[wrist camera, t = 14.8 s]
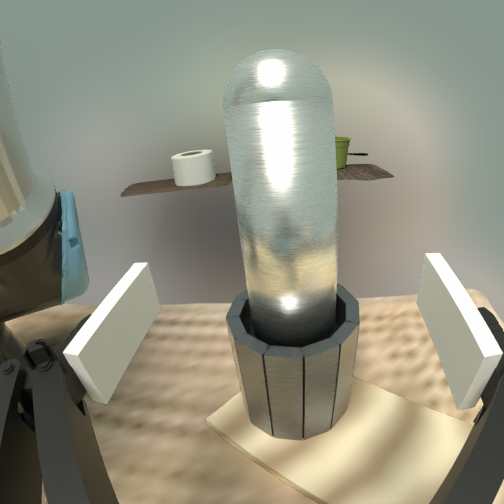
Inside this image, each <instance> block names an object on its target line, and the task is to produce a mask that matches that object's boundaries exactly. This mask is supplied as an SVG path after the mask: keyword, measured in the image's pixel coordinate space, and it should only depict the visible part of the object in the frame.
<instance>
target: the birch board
mask: <svg viewBox="0 0 504 504" xmlns="http://www.w3.org/2000/svg"><path fill="white" fill-rule="evenodd" d="M206 421H207V423H208V426H209V427H210V428H211V429H212V430H213V431H215V432H216V433H217V434H218V435H220V436H221V437H222V438H223V439H225V440H226V441H227V442H229V443H230V444H231V445H232V446H234V447H235V448H236V449H238V450H239V451H240V452H242V453H243V454H244V455H246V456H247V457H249V458H250V459H251V460H253V461H254V462H255V463H257V464H258V465H260V466H261V467H263V468H264V469H265V470H267V471H268V472H270V473H271V474H273V475H274V476H276V477H277V478H279V479H280V480H282V481H283V482H285V483H286V484H288V485H289V486H291V487H293V488H294V489H296V490H297V491H299V492H301V493H302V494H304V495H305V496H307V497H309V498H310V499H312V500H314V501H315V502H317V503H319V504H429V503H430V501H431V500H432V498H433V497H434V495H435V494H436V492H437V490H438V489H439V487H440V486H441V484H442V483H443V481H444V479H445V478H446V476H447V474H448V473H449V471H450V469H451V467H452V466H453V464H454V462H455V460H456V459H457V457H458V455H459V453H460V451H461V449H462V447H463V446H464V444H465V442H466V440H467V438H468V436H469V434H470V432H471V430H472V427H473V425H471V424H468V423H466V422H463V421H460V420H458V419H455V418H452V417H450V416H447V415H444V414H442V413H439V412H437V411H434V410H432V409H429V408H427V407H424V406H422V405H419V404H417V403H414V402H412V401H409V400H407V399H404V398H402V397H400V396H397V395H395V394H392V393H390V392H388V391H385V390H383V389H381V388H378V387H376V386H374V385H372V384H369V383H367V382H365V381H363V380H360V379H358V378H356V377H354V376H352V382H351V388H350V394H349V400H348V406H347V410H346V412H345V413H344V415H343V416H342V417H341V418H340V420H339V421H338V422H337V423H336V424H335V426H334V427H333V428H332V429H330V431H327V432H325V433H322V434H320V435H317V436H315V437H312V438H309V439H307V440H304V439H302V441H299V440H288V439H278V438H274V437H273V438H272V437H271V436H269V435H268V434H266V433H265V432H263V431H262V430H260V429H259V428H257V427H256V426H254V425H253V424H252V423H251V421H250V418H249V416H248V413H247V411H246V408H245V405H244V402H243V398H242V393H241V391H240V392H239V393H238V394H236V395H235V396H234V397H233V398H232V399H230V400H229V401H228V402H227V403H225V404H224V405H223V406H222V407H220V408H219V409H218V410H217V411H215V412H214V413H213V414H212V415H210V416H209V417H208V418H206ZM493 504H504V480H503V482H502V484H501V487H500V489H499V491H498V493H497V495H496V497H495V499H494V501H493Z"/></svg>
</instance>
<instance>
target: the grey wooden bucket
mask: <svg viewBox="0 0 504 504" xmlns="http://www.w3.org/2000/svg"><path fill="white" fill-rule="evenodd" d="M226 322H227V327H228V332H229V337H230V341H231V346H232V351H233V356H234V361H235V365H236V370H237V375H238V379H239V384H240V389H241V393H242V398H243V402H244V405H245V408H246V411H247V413H248V416H249V418H250V421H251V423H252V424H253V425H254V426H256V427H257V428H259V429H260V430H262V431H263V432H265V433H266V434H268V435H269V436H271V437H272V438H273V437H274V438H278V439H288V440H299V441H302V439H304V440H307V439H309V438H312V437H315V436H317V435H320V434H322V433H325V432H327V431H330V429H332V428H333V427H334V426H335V424H336V423H337V422H338V421H339V420H340V418H341V417H342V416H343V415H344V413H345V412H346V410H347V406H348V400H349V394H350V388H351V382H352V376H353V369H354V362H355V355H356V348H357V340H358V332H359V323H360V321H359V303H358V301H357V300H356V299H355V298H354V297H353V296H352V295H351V294H350V293H349V292H348V291H347V290H346V289H345V288H344V287H343V286H341V285H340V284H337V293H336V316H335V333H334V334H333V335H332V336H331V337H330V338H328V339H325V340H322V341H319V342H316V343H313V344H310V345H307V346H304V347H284V346H270V345H268V344H266V343H264V342H262V341H260V340H258V339H256V338H254V332H253V325H252V318H251V311H250V304H249V297H248V290H246V291H244V292H243V293H241V294H240V295H238V296H237V297H236V298H235V299H234V301H233V303H232V305H231V307H230V309H229V311H228V314H227V316H226Z"/></svg>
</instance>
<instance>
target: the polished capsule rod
mask: <svg viewBox="0 0 504 504" xmlns="http://www.w3.org/2000/svg"><path fill="white" fill-rule="evenodd" d="M223 109H224V117H225V123H226V133H227V140H228V148H229V155H230V164H231V171H232V179H233V187H234V194H235V202H236V209H237V217H238V223H239V232H240V239H241V246H242V253H243V260H244V268H245V275H246V283H247V290H248V297H249V304H250V311H251V318H252V325H253V332H254V338H256V339H258V340H260V341H262V342H264V343H266V344H268V345H270V346H284V347H304V346H307V345H310V344H313V343H316V342H319V341H322V340H325V339H328V338H330V337H331V336H332V335H333V334H334V333H335V316H336V293H337V253H338V252H337V251H338V247H337V246H338V245H337V244H338V210H337V168H336V146H335V129H334V114H333V100H332V93H331V89H330V86H329V83H328V81H327V79H326V77H325V76H324V74H323V72H322V71H321V70H320V69H319V67H318V66H317V65H315V64H314V63H313V62H312V61H310V60H309V59H308V58H306V57H304V56H302V55H301V54H298V53H295V52H292V51H288V50H281V49H280V50H279V49H272V50H265V51H261V52H258V53H256V54H253V55H251V56H249V57H248V58H246V59H244V60H243V61H242V62H240V63H239V64H238V65H237V66H236V67H235V68H234V70H233V71H232V72H231V74H230V76H229V78H228V79H227V82H226V85H225V88H224V92H223Z"/></svg>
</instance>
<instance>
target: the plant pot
mask: <svg viewBox="0 0 504 504" xmlns="http://www.w3.org/2000/svg"><path fill="white" fill-rule="evenodd" d="M350 139H351V138H348V137H335V146H336V168H337V169H341V168H345V167H346V161H347V153H348V146H349V142H350Z"/></svg>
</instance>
